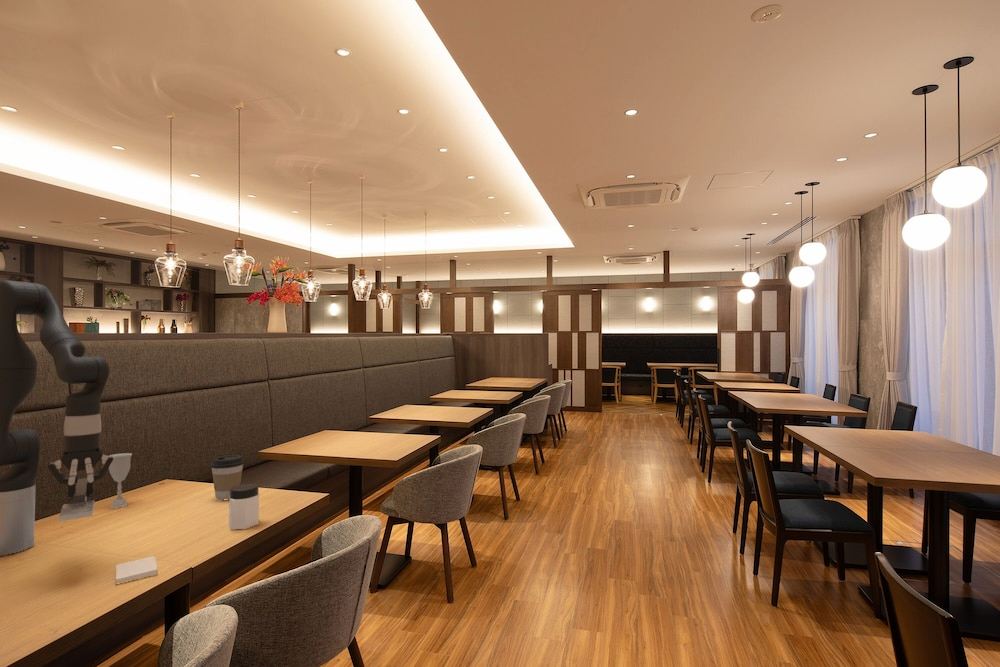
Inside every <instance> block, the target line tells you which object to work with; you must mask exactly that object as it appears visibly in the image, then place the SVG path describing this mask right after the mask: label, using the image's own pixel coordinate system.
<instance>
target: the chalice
mask: <svg viewBox="0 0 1000 667" xmlns="http://www.w3.org/2000/svg"><path fill="white" fill-rule="evenodd" d="M109 456H113V461H112V463H111V464H110V466H109V468H108V471H109V473H110V475H111V477H112V479H113V481H114V482H117V486H116V488H117V492H116V493H115V494H117V497H116V499H114V500H113V501H112V503H111V505H110V509H119V507H121V508H124V506H125V507H126V506H128V505H129V504H128V502H127V499H125V498H123V497H122V493H123V491H122V488H123V485H122V481H123V482H124V481H125V479H126V477H127V476H128V474H129V472H130V469H131V458H132V456H133V453H130V452H129V453H128V452H126V453H125V452H124V453H115V454H109Z"/></svg>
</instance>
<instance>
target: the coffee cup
mask: <svg viewBox="0 0 1000 667" xmlns="http://www.w3.org/2000/svg"><path fill="white" fill-rule="evenodd" d="M244 464H245V459H243V457H242V456H241V455H240V454H235V455H234V454H230V455H229V454H228V455H220V456H217V457H214V458H213V459H212V462H211V463H210V466H209V468H210V469H211V472H212V481H213V488H214V495H215V499H218V500H224V499H229V496H230V488H232V487H234V486H237V485H241V482H242V474H243V468H244V467H243V466H244ZM218 500H217V501H218Z"/></svg>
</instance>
